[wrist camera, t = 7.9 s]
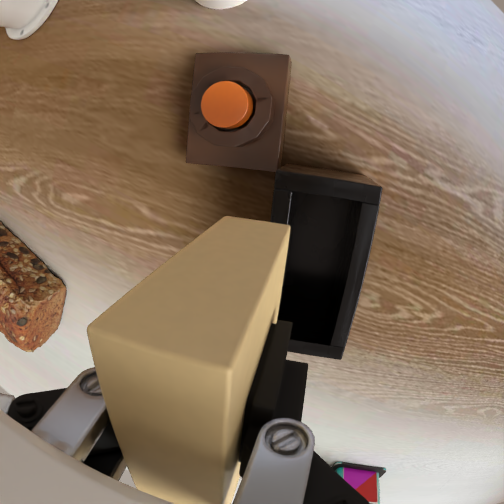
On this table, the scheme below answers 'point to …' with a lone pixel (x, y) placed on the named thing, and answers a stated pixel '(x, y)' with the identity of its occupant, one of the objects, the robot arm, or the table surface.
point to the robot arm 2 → (362, 479)
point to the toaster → (323, 252)
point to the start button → (226, 105)
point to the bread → (27, 295)
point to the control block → (259, 123)
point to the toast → (191, 358)
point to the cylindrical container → (220, 3)
